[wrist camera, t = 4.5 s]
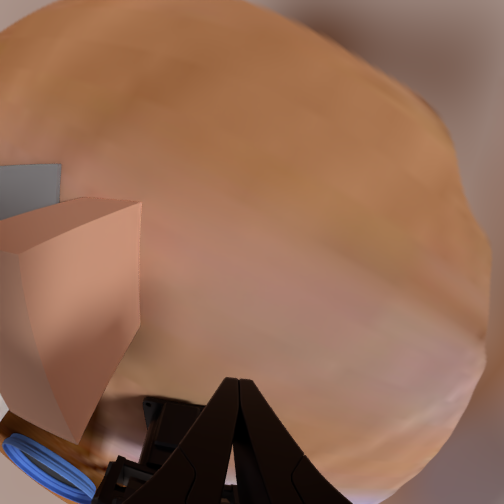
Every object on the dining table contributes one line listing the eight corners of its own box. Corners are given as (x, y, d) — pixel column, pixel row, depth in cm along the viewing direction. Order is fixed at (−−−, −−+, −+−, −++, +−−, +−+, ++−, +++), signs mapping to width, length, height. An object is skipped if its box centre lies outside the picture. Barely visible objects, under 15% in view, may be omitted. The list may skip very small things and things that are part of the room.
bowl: (82, 494, 29) (78, 507, 26) (6, 441, 25) (-1, 452, 21) (115, 486, 26) (111, 503, 22) (14, 417, 22) (4, 432, 18)
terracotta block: (140, 325, 17) (77, 444, 7) (89, 314, 17) (10, 411, 7) (142, 201, 15) (18, 254, 5) (84, 196, 14) (-47, 238, 5)
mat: (70, 331, 17) (68, 334, 16) (-13, 301, 16) (-15, 302, 16) (61, 163, 14) (57, 164, 13) (-25, 168, 13) (-28, 168, 12)
